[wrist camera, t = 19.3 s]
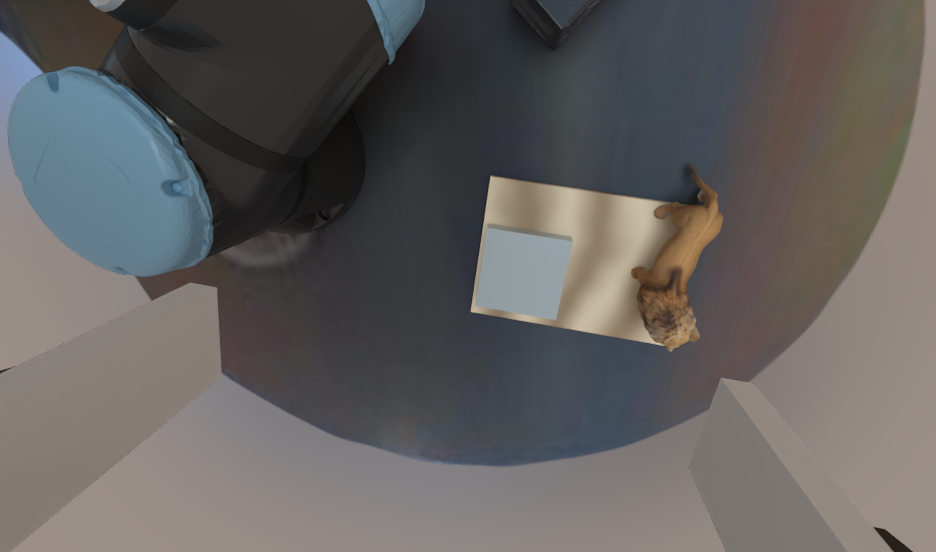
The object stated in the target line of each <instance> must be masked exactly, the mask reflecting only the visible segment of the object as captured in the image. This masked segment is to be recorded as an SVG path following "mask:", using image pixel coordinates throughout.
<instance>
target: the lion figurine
mask: <svg viewBox="0 0 936 552" xmlns="http://www.w3.org/2000/svg"><path fill="white" fill-rule="evenodd" d="M690 175H691V177H692V179H693V180H694V182H695V183H696V184H697V185H698V186H699V187H700V189H701V190H700V191H699V193H698V196H697V197H698V199H699V200H700V202H706V204H705V205H704V206H700V205H687V206H681V205H680V203H679V202H673V203H671V204H668V205H662V206H659V207H658V208H657V209H656V210H655V211H654V215H655V217H656V218H658V219H665V218H666V217H667V215H668V214H669V212H670V214H671V221H672V222H673V223H674V224H675V225H676V227H677V231H676V232H675V234H674V235H673V236H672V237H671V238H670V239H669V240H668V241H667V242H666V243H665V244H664V245H663V247H662V248H661V250H660V251H659V253H658V255H657V258H656V260H655V263H654V265H653V268H652V270H649V271H647V270H646V268H645V267H636V268H634V269H632V271H631V275H632V277H633V278H634V279H638V281H639V283H640V284H641V286H640V289H639V292H638V294H637V296H636V297H637V300H638V309H639V312H640V317H641V319H642V320H643V323H644V327H645V329H646V330H647V331H648V332H649V335H650V337H651V338H652V339H653V340H654V341H655V342H657V343H661V344H663V345H665V346H666V348H667V350H668V351H672V350H673V349H674V348H677V347H679V346H680V344H684V343H685V342H688V341H696V340H697V339H699V337H700V335H699V333H698V331H697V328H696V327H695V323H696V318H695V317H694V316H693V311H692V307H691V306H690V304H689V298H688V295H687V281H688V280H689V278H690V276H691V275H692V273H693V271H694V269H695V267H696V265H697V262H698V259H699V256H700V254H701V252H702V250H703V249H704V247H705V246H706V245H707V244H708V243H710V242H711V241H712V240H713V239H714V238H715V237H716V236H717V235H718V233H719V231H720V229H721V225H722V222H723V216H722V214H721V213H720V212H719V211H718V202H717V193H716V192H715V191H714V190H712V189H711V188H710V187H708V186H707V185H706V184H705V183H704V182H703V181H702V180H701V178H700V177H699V175H698V171H697V168H696V165H695V164H691V167H690Z"/></svg>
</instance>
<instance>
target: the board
mask: <svg viewBox="0 0 936 552" xmlns="http://www.w3.org/2000/svg"><path fill="white" fill-rule="evenodd" d="M671 203H672V202H666V201H659V200H652V199H646V198H639V197H632V196H626V195H619V194H613V193H606V192H599V191H593V190H586V189H580V188H573V187H566V186H560V185H553V184H546V183H540V182H533V181H527V180H520V179H513V178H507V177H500V176H494V175H491V176H490V183H489V190H488V197H487V203H486V210H485V217H484V224H483V231H482V238H481V244H480V251H479V258H478V265H477V272H476V279H475V285H474V292H473V299H472V306H471V312H475V313H481V314H487V315H492V316H498V317H504V318H509V319H515V320H521V321H527V322H532V323H538V324H544V325H549V326H555V327H561V328H566V329H572V330H578V331H584V332H589V333H595V334H601V335H606V336H612V337H618V338H623V339H629V340H635V341H641V342H646V343H652V344H658V345H663V344H661V343H657V342H655V341H654V340H653V339H652V338H651V337H650V335H649V332H648V331H647V330H646V329H645V327H644V323H643V320H642V319H641V317H640V312H639V309H638V300H637V297H636V296H637V294H638V292H639V289H640V286H641V284H640V283H639V281H638V279H634V278H633V277H632V275H631V271H632V269H634V268H636V267H645V268H646V270H647V271H649V270H652V268H653V265H654V263H655V260H656V258H657V255H658V253H659V251H660V250H661V248H662V247H663V245H664V244H665V243H666V242H667V241H668V240H669V239H670V238H671V237H672V236H673V235H674V234H675V232H676V231H677V227H676V225H675V224H674V223H673V222H672V221H671V214H670V212H669V214H668V215H667V217H666V218H665V219H658V218H656V217H655V215H654V211H655V210H656V209H657V208H658V207H659V206H662V205H668V204H671ZM680 205H681V206H687V205H685V204H680ZM488 224H494V225H500V226H506V227H513V228H519V229H525V230H531V231H538V232H544V233H550V234H556V235H563V236H569V237H571V238H572V241H573V243H572V248H571V252H570V257H569V262H568V266H567V271H566V276H565V280H564V285H563V290H562V294H561V299H560V303H559V308H558V313H557V317H556V320H553V319H547V318H541V317H536V316H530V315H524V314H518V313H513V312H507V311H501V310H495V309H490V308H484V307H478V306H475V305H476V298H477V291H478V285H479V278H480V271H481V265H482V258H483V251H484V244H485V238H486V231H487V227H488ZM663 346H665V345H663Z"/></svg>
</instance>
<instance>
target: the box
mask: <svg viewBox="0 0 936 552" xmlns="http://www.w3.org/2000/svg"><path fill="white" fill-rule="evenodd" d="M601 1H602V0H511V3H512V4H513V5H514V7H515V8H516V9H517V10H518V11H519V12H520V14H521V15H522V16H523V17H524V18H525V19H526V21H527V22H528V23H529V24H530V25H531V26H532V27H533V28H534V29H535V31H536V32H537V33H538V34H539V35H540V36H541V37H542V38H543V40H544V41H545V42H546V43H547V44H548V46H549V47H550V48H551V49H552V50H555V49H556V48H557V47H558V46H559V45H560V44H561V43H562V42H563V41H564V40H565V39H566V38H567V37H568V36H569V35H570V33H571V32H572V31H573V30H574V29H575V28H576V27H577V26H578V25H579V24H580V23H581V22H582V21H583V20H584V19H585V18H586V17H587V15H588V14H589V13H591V11H592V10H593V9H594V8H595V7H596V6H597V5H598V4H599V3H600V2H601Z"/></svg>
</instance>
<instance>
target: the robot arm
mask: <svg viewBox="0 0 936 552" xmlns="http://www.w3.org/2000/svg"><path fill="white" fill-rule="evenodd" d="M90 2H91V4H92V5H94V6H95V7H96V8H98V9H99V10H101V11H103V12H105V13H107V14H108V15H110V16H112V17H114V18H115V19H117V20H119V21H121V22H122V23H124V24H125V26H124V27H123V29H122V31H121V33H120V34H119V36H118V38H117V39H116V41H115V43H114V44H113V46H112V48H111V49H110V51H109V53H108V54H107V56H106V58H105V60H104V61H103V63H102V65H101V66H100V67H99V68H98V69H97V70H93V69H87V68H82V67H67V68H64V69H62V70H58V71H56V72H48V73H44V74H41V75H39V76H37V77H35V78H33V79H32V80H31V81H29V82H28V83H27V84H26V85H25V86H24V87H23V88H22V89H21V90H20V91H19V93H18V94H17V96H16V98H15V100H14V102H13V104H12V107H11V111H10V116H9V120H8V145H9V151H10V156H11V159H12V164H13V168H14V171H15V174H16V175H17V177H18V178H19V180H20V182H21V184H22V187H23V190H24V193H25V196H26V197H27V199H28V201H29V203H30V204H31V206H32V208H33V209H34V210H35V212H36V213H37V215H38V216H39V217H40V219H41V220H42V221H43V222H44V224H45V225H46V226H47V227H48V228H49V230H50V231H51V232H52V233H53V234H54V235H55V236H56V237H57V238H58V239H59V240H60V241H61V242H63V243H64V244H65V245H66V246H67V247H68V248H70V249H71V250H72V251H74V252H75V253H77V254H78V255H80V256H81V257H82V258H84V259H86V260H87V261H89V262H91V263H93V264H95V265H97V266H99V267H101V268H103V269H106V270H109V271H112V272H115V273H119V274H124V275H126V274H129V275H137V276H141V277H143V276H154V275H159V274H163V273H166V272H170V271H174V270H177V269H183V268H188V267H191V266H194V265H197V264H198V263H199V262H200V261H201V260H203V259H205V258H207V257H209V256H212V255H214V254H216V253H219V252H221V251H223V250H225V249H228V248H230V247H232V246H235V245H237V244H239V243H241V242H244V241H246V240H248V239H251V238H253V237H255V236H257V235H260V234H262V233H264V232H266V231H270V232H277V233H284V234H300V233H306V232H311V231H314V230H317V229H320V228H322V227H324V226H326V225H328V224H330V223H332V222H333V221H335V220H337V219H338V218H339V217H341V216H342V215H343V214H344V213H345V212H346V211H347V210H348V209H349V208H350V206H351V205H352V204H353V202H354V201H355V199H356V197H357V195H358V193H359V191H360V188H361V185H362V182H363V177H364V170H365V154H364V147H363V142H362V138H361V135H360V132H359V129H358V127H357V125H356V123H355V121H354V119H353V117H352V115H351V114H350V112H349V111H348V110H349V108H350V107H351V106H352V105H353V104H354V102H355V101H356V100H357V99H358V97H359V96H360V95H361V94H362V93H363V91H364V90H365V89H366V88H367V86H368V85H369V84H370V83H371V81H372V80H373V79H374V78H375V77H376V75H377V74H378V73H379V72H380V70H381V69H382V68H383V67H384V66H385V64H386V63H387V64H388V65H390V64H391V63H392V62H393V61H394V59H395V52H396V51H397V50H398V48H399V47H400V46H401V44H402V43H403V42H404V40H405V39H406V37H407V36H408V35H409V33H410V32H411V31H412V29H413V28H414V27H415V25H416V24H417V23H418V21H419V20H420V18H421V16H422V14H423V11H424V7H425V0H90ZM221 376H222V375H221V357H220V338H219V319H218V301H217V287H211V286H205V285H200V284H194V283H188V284H186V285H184V286H182V287H180V288H178V289H176V290H174V291H172V292H170V293H168V294H165V295H163V296H161V297H159V298H157V299H155V300H153V301H151V302H149V303H147V304H145V305H143V306H140V307H138V308H136V309H134V310H132V311H130V312H128V313H126V314H124V315H122V316H120V317H117V318H115V319H113V320H111V321H109V322H107V323H105V324H103V325H101V326H99V327H97V328H94V329H92V330H91V331H88V332H86V333H84V334H82V335H80V336H78V337H76V338H74V339H71V340H69V341H67V342H65V343H63V344H61V345H59V346H57V347H55V348H53V349H51V350H48V351H47V352H44V353H42V354H40V355H38V356H36V357H34V358H32V359H30V360H28V361H25V362H23V363H21V364H19V365H17V366H14V367H12V368H8V369H5V370H2V371H0V552H10V551H12V550H13V549H14V548H15V547H16V546H18V545H19V544H20V543H21V542H22V541H24V540H25V539H26V538H27V537H28V536H30V535H31V534H32V533H33V532H34V531H35V530H37V529H38V528H39V527H40V526H42V525H43V524H44V523H45V522H47V521H48V520H49V519H50V518H51V517H53V516H54V515H55V514H56V513H57V512H59V511H60V510H61V509H62V508H63V507H65V506H66V505H67V504H68V503H69V502H71V501H72V500H73V499H74V498H75V497H76V496H78V495H79V494H80V493H81V492H83V491H84V490H85V489H86V488H88V487H89V486H90V485H91V484H92V483H94V482H95V481H96V480H97V479H98V478H100V477H101V476H102V475H103V474H104V473H106V472H107V471H108V470H109V469H110V468H112V467H113V466H114V465H115V464H116V463H117V462H119V461H120V460H121V459H122V458H123V457H125V456H126V455H127V454H129V453H130V452H131V451H132V450H133V449H135V448H136V447H137V446H138V445H139V444H140V443H142V442H143V441H144V440H145V439H147V438H148V437H149V436H150V435H151V434H153V433H154V432H155V431H156V430H158V429H159V428H160V427H161V426H162V425H163V424H165V423H166V422H167V421H168V420H170V419H171V418H172V417H173V416H174V415H175V414H177V413H178V412H179V411H180V410H182V409H183V408H184V407H185V406H186V405H188V404H189V403H190V402H191V401H192V400H194V399H195V398H196V397H197V396H198V395H200V394H201V393H202V392H203V391H205V390H206V389H207V388H208V387H209V386H211V385H212V384H213V383H214V382H215V381H217V380H218V379H219V378H220V377H221ZM688 468H689V470H690V473H691V475H692V477H693V479H694V481H695V484H696V486H697V488H698V490H699V493H700V495H701V497H702V499H703V502H704V504H705V506H706V508H707V511H708V513H709V515H710V517H711V519H712V522H713V524H714V526H715V528H716V531H717V533H718V535H719V537H720V540H721V542H722V544H723V546H724V548H725V551H726V552H912V551H911V550H910V549H909V548H907V547H906V546H905V545H904V544H903V543H901V542H900V541H899V540H898V539H896V538H895V537H894V536H892V535H891V534H890V533H889V532H888V531H886V530H885V529H881V528H875V527H872V526H871V524H870V523H869V522H868V521H867V520H866V518H865V517H864V516H863V515H862V513H861V512H860V511H859V510H858V509H857V507H856V506H855V505H854V504H853V503H852V502H851V500H850V499H849V498H848V497H847V496H846V494H845V493H844V492H843V491H842V490H841V488H840V487H839V486H838V485H837V484H836V482H835V481H834V480H833V479H832V478H831V476H830V475H829V474H828V473H827V472H826V470H825V469H824V468H823V467H822V466H821V464H820V463H819V462H818V461H817V460H816V458H815V457H814V456H813V455H812V454H811V452H810V451H809V450H808V449H807V448H806V447H805V445H804V444H803V443H802V442H801V440H800V439H799V438H798V437H797V436H796V435H795V433H794V432H793V431H792V430H791V428H790V427H789V426H788V425H787V424H786V422H785V421H784V420H783V419H782V418H781V417H780V415H779V414H778V413H777V412H776V411H775V409H774V408H773V407H772V406H771V404H770V403H769V402H768V401H767V400H766V399H765V397H764V396H763V395H762V394H761V392H760V391H759V390H758V389H757V388H756V386H755V385H754V384H753V383H747V382H741V381H736V380H730V379H725V378H721V379H720V381H719V384H718V387H717V390H716V392H715V395H714V398H713V401H712V403H711V406H710V409H709V412H708V414H707V417H706V420H705V423H704V425H703V428H702V431H701V434H700V437H699V439H698V442H697V445H696V447H695V451H694V453H693V456H692V459H691V462H690V464H689V467H688Z"/></svg>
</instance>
